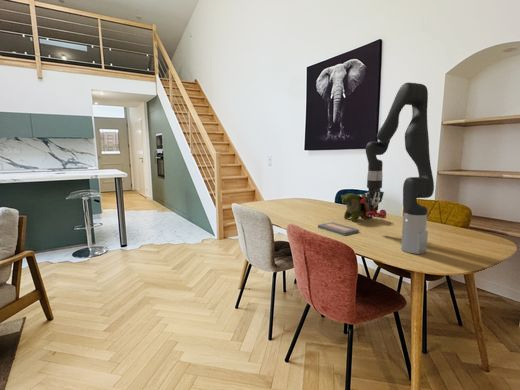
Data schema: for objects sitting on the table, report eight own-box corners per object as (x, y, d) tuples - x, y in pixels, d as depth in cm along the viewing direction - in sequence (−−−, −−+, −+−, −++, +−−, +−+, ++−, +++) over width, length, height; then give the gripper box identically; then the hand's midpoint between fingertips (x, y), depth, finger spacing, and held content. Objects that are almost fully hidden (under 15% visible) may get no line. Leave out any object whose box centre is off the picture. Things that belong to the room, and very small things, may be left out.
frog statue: (374, 228, 183) (343, 220, 174) (359, 221, 197) (330, 214, 189) (384, 200, 181) (353, 191, 172) (368, 196, 195) (338, 187, 187)
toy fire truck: (384, 219, 148) (385, 201, 147) (359, 215, 158) (360, 198, 156) (387, 218, 151) (388, 200, 149) (362, 214, 160) (362, 197, 159)
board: (358, 232, 158) (358, 229, 157) (343, 235, 151) (343, 232, 151) (332, 224, 174) (332, 222, 174) (317, 227, 168) (317, 224, 168)
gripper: (372, 180, 145) (370, 213, 147) (389, 179, 152) (387, 210, 154) (360, 179, 151) (359, 211, 153) (377, 178, 158) (375, 208, 161)
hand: (373, 210), depth 154 cm, fingers closed on toy fire truck, 3 cm apart
